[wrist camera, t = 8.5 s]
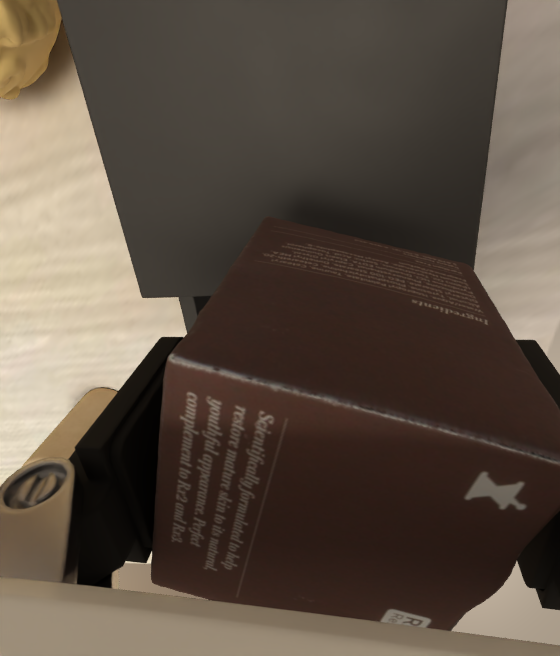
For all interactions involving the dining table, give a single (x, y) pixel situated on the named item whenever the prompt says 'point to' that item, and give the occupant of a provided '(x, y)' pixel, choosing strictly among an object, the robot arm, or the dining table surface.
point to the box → (350, 436)
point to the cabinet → (287, 123)
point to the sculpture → (25, 42)
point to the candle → (73, 426)
